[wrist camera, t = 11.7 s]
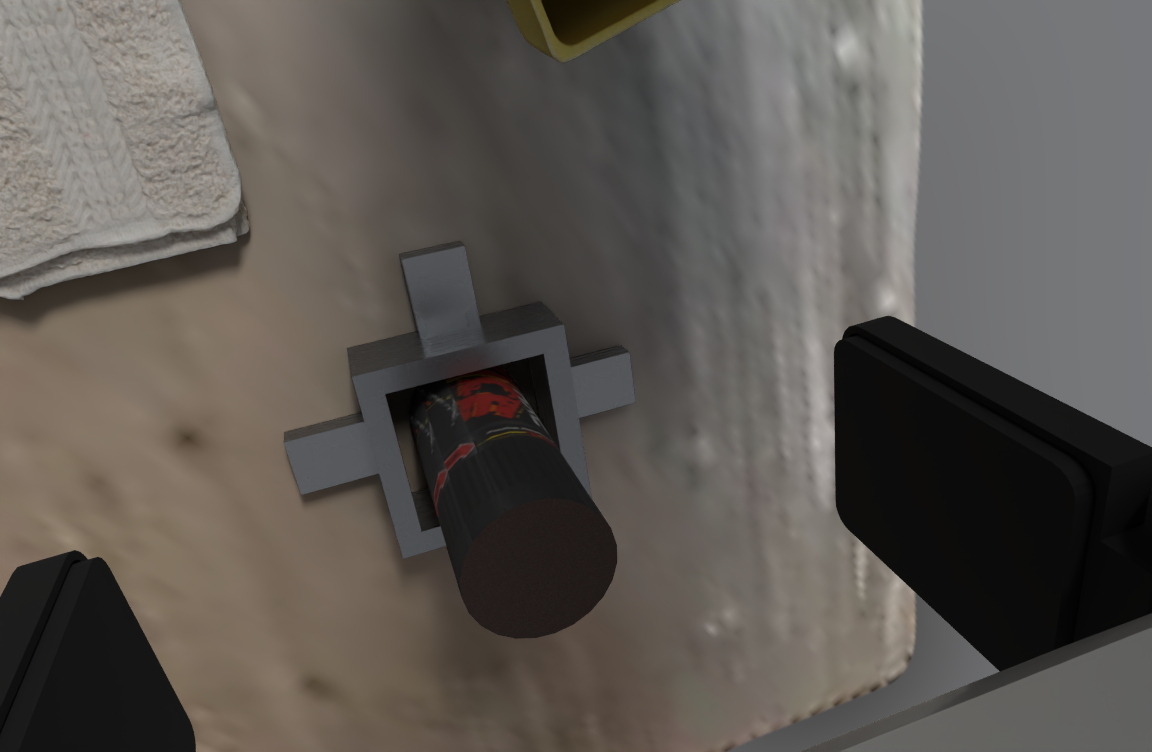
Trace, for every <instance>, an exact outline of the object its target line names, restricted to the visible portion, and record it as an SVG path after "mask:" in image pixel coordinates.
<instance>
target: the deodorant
mask: <svg viewBox="0 0 1152 752" xmlns="http://www.w3.org/2000/svg"><path fill="white" fill-rule="evenodd" d="M409 418H410V426H411V429H412V433H413V436H414V439H415V443H416V446H417V449H418V453H419V456H420V459H421V463H422V466H423V469H424V473H425V476H426V480H427V483H428V486H429V490H430V493H431V496H432V500H433V503H434V506H435V510H436V513H437V516H438V520H439V523H440V526H441V530H442V533H443V536H444V540H445V543H446V546H447V550H448V553H449V556H450V560H451V563H452V566H453V570H454V573H455V577H456V580H457V583H458V587H459V590H460V593H461V597H462V599H463V601H464V603H465V605H466V608H467V610H468V612H469V614H470V615H471V616H472V617H473V618H474V619H475V620H476V621H477V622H478V623H479V624H480V625H481V626H483V627H484V628H486V629H488V630H490V631H492V632H494V633H496V634H498V635H502V636H507V637H512V638H537V637H541V636H545V635H549V634H553V633H556V632H558V631H560V630H562V629H564V628H567V627H569V626H571V625H573V624H575V623H576V622H577V621H579V620H580V619H581V618H582V617H584V616H585V615H586V614H588V613H589V612H590V611H591V610H592V609H593V608H594V607H595V606H596V604H597V603H598V602H599V601H600V600H601V599H602V598H603V596H604V595H605V593H606V591H607V589H608V587H609V585H610V584H611V582H612V580H613V576H614V572H615V568H616V564H617V544H616V541H615V539H614V536H613V533H612V530H611V528H610V526H609V525H608V523H607V522H606V520H605V519H604V517H603V516H602V514H601V512H600V511H599V509H598V508H597V506H596V505H595V503H594V502H593V500H592V499H591V497H590V496H589V494H588V493H587V491H586V490H585V488H584V487H583V485H582V484H581V482H580V481H579V479H578V478H577V476H576V475H575V473H574V471H573V470H572V468H571V467H570V465H569V464H568V462H567V461H566V459H565V458H564V456H563V455H562V453H561V452H560V450H559V449H558V447H557V446H556V444H555V443H554V441H553V440H552V438H551V437H550V435H549V434H548V432H547V430H546V429H545V427H544V426H543V424H542V423H541V421H540V420H539V418H538V417H537V415H536V414H535V412H534V411H533V409H532V408H531V406H530V405H529V403H528V402H527V400H526V399H525V397H524V396H523V394H522V393H521V391H520V389H519V388H518V386H517V385H516V383H515V382H514V381H513V379H512V378H511V377H510V375H509V374H508V373H507V371H505V370H504V369H503V368H501V367H500V366H499V365H497V366H494V367H490V368H486V369H482V370H478V371H474V372H470V373H466V374H462V375H458V376H454V377H450V378H447V379H443V380H439V381H435V382H431V383H427V384H423V385H419V386H417V387H416V389H415V391H414V393H413V395H412V398H411V402H410V408H409Z"/></svg>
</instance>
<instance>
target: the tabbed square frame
mask: <svg viewBox="0 0 1152 752" xmlns="http://www.w3.org/2000/svg"><path fill="white" fill-rule="evenodd" d="M399 256H400V260H401V264H402V268H403V272H404V277H405V281H406V285H407V289H408V293H409V297H410V302H411V306H412V310H413V314H414V318H415V323H416V327H417V332H413V333H409V334H404V335H400V336H396V337H392V338H388V339H384V340H379V341H375V342H371V343H367V344H363V345H359V346H354V347H350V348H347V351H348V357H349V363H350V369H351V375H352V380H353V383H354V387H355V390H356V394H357V397H358V401H359V404H360V408H361V411H362V412H361V413H357V414H353V415H349V416H346V417H342V418H338V419H334V420H330V421H326V422H322V423H318V424H315V425H311V426H307V427H303V428H299V429H295V430H291V431H288V432H284V445H285V448H286V451H287V454H288V457H289V460H290V463H291V466H292V469H293V472H294V475H295V478H296V481H297V484H298V487H299V490H300V493H301V495H303V494H307V493H310V492H314V491H317V490H321V489H325V488H328V487H332V486H335V485H339V484H343V483H346V482H350V481H353V480H357V479H361V478H364V477H368V476H372V475H375V474H379V475H380V479H381V482H382V486H383V489H384V493H385V496H386V500H387V504H388V507H389V511H390V514H391V518H392V521H393V525H394V528H395V532H396V535H397V539H398V543H399V546H400V550H401V553H402V557H403V559H404V558H408V557H411V556H414V555H418V554H421V553H424V552H428V551H431V550H434V549H438V548H441V547H444V546H446V543H445V540H444V536H443V533H442V530H441V526H440V523H439V520H438V516H437V513H436V510H435V506H434V503H433V500H432V496H431V493H430V490H429V488H428V489H424V490H421V491H417V492H414V493H412V492H411V489H410V485H409V481H408V477H407V474H406V470H405V466H404V462H403V459H402V455H401V451H400V447H399V444H398V440H397V436H396V432H395V428H394V425H393V421H392V417H391V413H390V410H389V406H388V402H387V398H386V395H385V394H388V393H392V392H396V391H399V390H403V389H407V388H411V387H415V386H419V385H423V384H427V383H431V382H435V381H439V380H443V379H447V378H450V377H454V376H458V375H462V374H466V373H470V372H474V371H478V370H482V369H486V368H490V367H494V366H497V365H501V364H505V363H509V362H513V361H517V360H521V359H525V358H529V363H530V369H531V374H532V380H533V385H534V391H535V396H536V402H537V407H538V413H539V418H540V421H541V423H542V424H543V426H544V427H545V429H546V430H547V432H548V434H549V435H550V437H551V438H552V440H553V441H554V443H555V444H556V446H557V447H558V449H559V450H560V452H561V453H562V455H563V456H564V458H565V459H566V461H567V462H568V464H569V465H570V467H571V468H572V470H573V471H574V473H575V475H576V476H577V478H578V479H579V481H580V482H581V484H582V485H583V487H584V488H585V490H586V491H587V493H588V494H589V496H590V497H591V491H590V485H589V479H588V472H587V466H586V460H585V453H584V447H583V441H582V435H581V428H580V422H579V418H581V417H585V416H588V415H592V414H596V413H599V412H603V411H606V410H610V409H614V408H617V407H621V406H624V405H628V404H632V403H635V402H636V401H635V393H634V385H633V377H632V369H631V361H630V353H629V352H628V351H627V350H626V349H625V348H624V347H623V346H622V345H620V346H616V347H613V348H609V349H605V350H601V351H597V352H593V353H589V354H585V355H582V356H578V357H574V358H570V359H569V353H568V347H567V340H566V334H565V328H564V324H563V323H562V322H561V321H560V320H559V319H558V318H557V317H556V316H555V315H554V314H553V313H552V312H551V311H550V310H549V309H548V308H547V307H546V306H545V305H544V304H543V303H542V302H538V303H534V304H530V305H525V306H521V307H517V308H513V309H509V310H505V311H500V312H496V313H492V314H488V315H484V316H480V317H479V314H478V309H477V304H476V299H475V295H474V290H473V285H472V280H471V275H470V270H469V265H468V260H467V255H466V250H465V246H464V245H463V244H462V242H461V241H457V242H453V243H448V244H443V245H439V246H434V247H430V248H425V249H420V250H416V251H411V252H407V253H402V254H399ZM591 499H592V497H591Z"/></svg>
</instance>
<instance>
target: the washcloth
mask: <svg viewBox="0 0 1152 752" xmlns="http://www.w3.org/2000/svg"><path fill="white" fill-rule="evenodd" d="M241 190H242V187H241V176H240V173H239V170H238V166H237V163H236V161H235V158H234V155H233V152H232V150H231V146H230V144H229V141H228V138H227V132H226V130H225V128H224V126H223V121H222V118H221V115H220V111H219V108H218V105H217V102H216V98H215V96H214V94H213V89H212V86H211V84H210V82H209V78H208V76H207V74H206V71H205V67H204V64H203V61H202V58H201V55H200V52H199V50H198V47H197V45H196V42H195V39H194V36H193V34H192V30H191V27H190V24H189V22H188V20H187V16H186V13H185V11H184V10H183V5H182V2H181V0H0V297H3V298H7V299H12V300H24V298H23V297H24V296H26V295H30V294H31V293H33V292H35V291H36V290H37V289H40V288H42V287H47V286H50V285H53V284H56V283H60V282H64V281H68V280H72V279H76V278H82V277H85V276H92V275H95V274H99V273H103V272H109V271H112V270H116V269H121V268H126V267H129V266H134V265H138V264H141V263H145V262H149V261H154V260H158V259H162V258H168V257H172V256H175V255H180V254H184V253H188V252H192V251H196V250H200V249H205V248H210V247H214V246H218V245H222V244H230V243H233V242H236V241H237V236H240V235H243V234H245V233H247V232H248V231H249V226H250V224H249V221H248V220H247V209H246V208H245V207H244V203H243V197H242V194H241Z"/></svg>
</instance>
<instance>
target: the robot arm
mask: <svg viewBox="0 0 1152 752" xmlns="http://www.w3.org/2000/svg"><path fill="white" fill-rule="evenodd" d="M834 399H835V486H836V507H837V511H838V514H839V516H840V519H841V520H842V522H843V524H844V525H845V526H846V527H847V529H848V530H849V531H850V532H852V533H853V534H854V535H855V536H856V537H857V538H858V539H859V540H860V541H861V542H862V543H863V544H864V545H865V546H866V547H868V548H869V549H870V550H871V551H872V552H873V553H874V554H875V555H876V556H877V557H878V558H879V559H880V560H881V561H882V562H884V563H885V564H886V565H887V566H888V567H889V568H890V569H891V570H892V571H893V572H894V573H895V574H896V575H897V576H899V577H900V578H901V579H902V580H903V581H904V582H905V583H906V584H907V585H908V586H909V587H910V588H911V589H912V590H913V591H915V592H916V593H917V594H918V595H919V596H920V597H921V598H922V599H923V600H924V601H925V602H926V603H928V605H929V606H931V607H932V608H933V609H934V610H935V611H936V612H937V613H938V614H939V615H941V617H942V618H943V619H944V620H945V621H947V622H948V623H949V624H950V625H951V626H952V627H953V628H954V629H955V630H956V631H957V632H958V633H959V634H960V635H962V636H963V637H964V638H965V639H966V640H967V641H968V642H969V643H970V644H971V645H972V646H973V647H974V648H975V649H976V650H978V651H979V652H980V653H981V654H982V655H983V656H984V657H985V658H986V659H987V660H988V661H989V662H990V663H991V664H993V665H994V666H995V667H996V668H997V669H998V670H999V671H1000V672H998V673H996V674H993V675H991V676H988V677H986V678H983V679H981V680H978V681H976V682H973V683H970V684H968V685H965V686H963V687H960V688H958V689H955V690H953V691H950V692H948V693H945V694H943V695H940V696H938V697H935V698H933V699H930V700H928V701H925V702H923V703H920V704H918V705H915V706H913V707H910V708H908V709H905V710H903V711H900V712H898V713H895V714H893V715H890V716H888V717H885V718H883V719H880V720H878V721H875V722H873V723H870V724H868V725H865V726H862V727H860V728H857V729H855V730H853V731H850V732H848V733H845V734H843V735H840V736H838V737H835V738H833V739H830V740H828V741H825V742H823V743H820V744H818V745H815V746H813V747H810V748H808V749H805V750H803V751H801V752H1152V447H1150V446H1148V445H1146V444H1144V443H1142V442H1140V441H1138V440H1136V439H1134V438H1132V437H1130V436H1128V435H1126V434H1124V433H1122V432H1120V431H1118V430H1116V429H1114V428H1112V427H1111V426H1109V425H1107V424H1105V423H1103V422H1100V421H1098V420H1097V419H1095V418H1092V417H1091V416H1089V415H1087V414H1085V413H1083V412H1081V411H1079V410H1077V409H1075V408H1073V407H1071V406H1069V405H1067V404H1065V403H1063V402H1061V401H1059V400H1057V399H1055V398H1053V397H1051V396H1049V395H1047V394H1045V393H1043V392H1041V391H1039V390H1037V389H1035V388H1033V387H1031V386H1029V385H1027V384H1025V383H1023V382H1021V381H1019V380H1017V379H1016V378H1014V377H1012V376H1010V375H1008V374H1005V373H1003V372H1002V371H1000V370H998V369H996V368H994V367H992V366H990V365H988V364H986V363H984V362H982V361H980V360H978V359H976V358H974V357H972V356H970V355H968V354H966V353H964V352H962V351H960V350H958V349H956V348H954V347H952V346H950V345H948V344H946V343H944V342H942V341H940V340H938V339H936V338H934V337H932V336H930V335H928V334H927V333H925V332H922V331H921V330H918V329H917V328H915V327H913V326H911V325H909V324H907V323H905V322H903V321H901V320H899V319H897V318H895V317H891V316H885V317H881V318H877V319H874V320H871V321H867V322H864V323H860V324H857V325H853V326H850V327H848V328H847V329H846V330H845V332H844V335H843V338H842V340H839V341H838V342H837V343H836V346H835V348H834ZM0 752H196V744H195V736H194V731H193V728H192V725H191V722H190V720H189V718H188V716H187V714H186V712H185V710H184V708H183V707H182V705H181V703H180V701H179V699H178V697H177V695H176V693H175V691H174V689H173V688H172V686H171V684H170V682H169V680H168V678H167V676H166V674H165V672H164V670H163V669H162V667H161V665H160V663H159V661H158V659H157V657H156V655H155V653H154V651H153V650H152V648H151V646H150V644H149V642H148V640H147V638H146V636H145V634H144V632H143V631H142V629H141V627H140V625H139V623H138V621H137V619H136V617H135V615H134V614H133V612H132V610H131V608H130V606H129V604H128V602H127V600H126V598H125V596H124V595H123V593H122V591H121V589H120V587H119V585H118V583H117V581H116V579H115V577H114V576H113V574H112V572H111V570H110V568H109V566H108V565H107V563H106V562H105V561H104V560H103V559H102V558H99V557H96V558H92V559H89V560H88V559H87V558H86V557H85V556H84V555H83V554H82V553H81V552H79V551H76V550H74V551H71V552H67V553H64V554H60V555H57V556H53V557H50V558H46V559H43V560H39V561H36V562H32V563H29V564H26V565H22V566H20V567H17V568H16V570H15V571H14V572H13V574H12V575H11V577H10V579H9V581H8V583H7V585H6V587H5V589H4V591H3V593H2V595H1V597H0Z"/></svg>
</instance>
